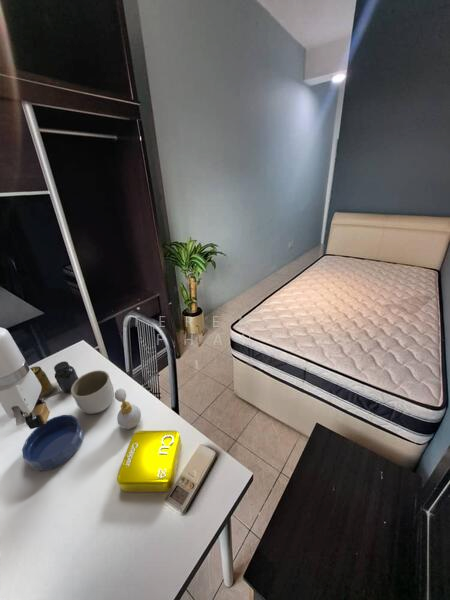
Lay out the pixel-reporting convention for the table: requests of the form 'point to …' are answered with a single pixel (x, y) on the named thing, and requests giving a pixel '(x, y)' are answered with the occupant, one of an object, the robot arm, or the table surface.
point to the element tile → (150, 462)
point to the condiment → (45, 383)
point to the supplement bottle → (65, 376)
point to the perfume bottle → (127, 411)
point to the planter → (93, 392)
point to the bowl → (53, 442)
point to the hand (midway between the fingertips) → (39, 419)
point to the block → (41, 412)
